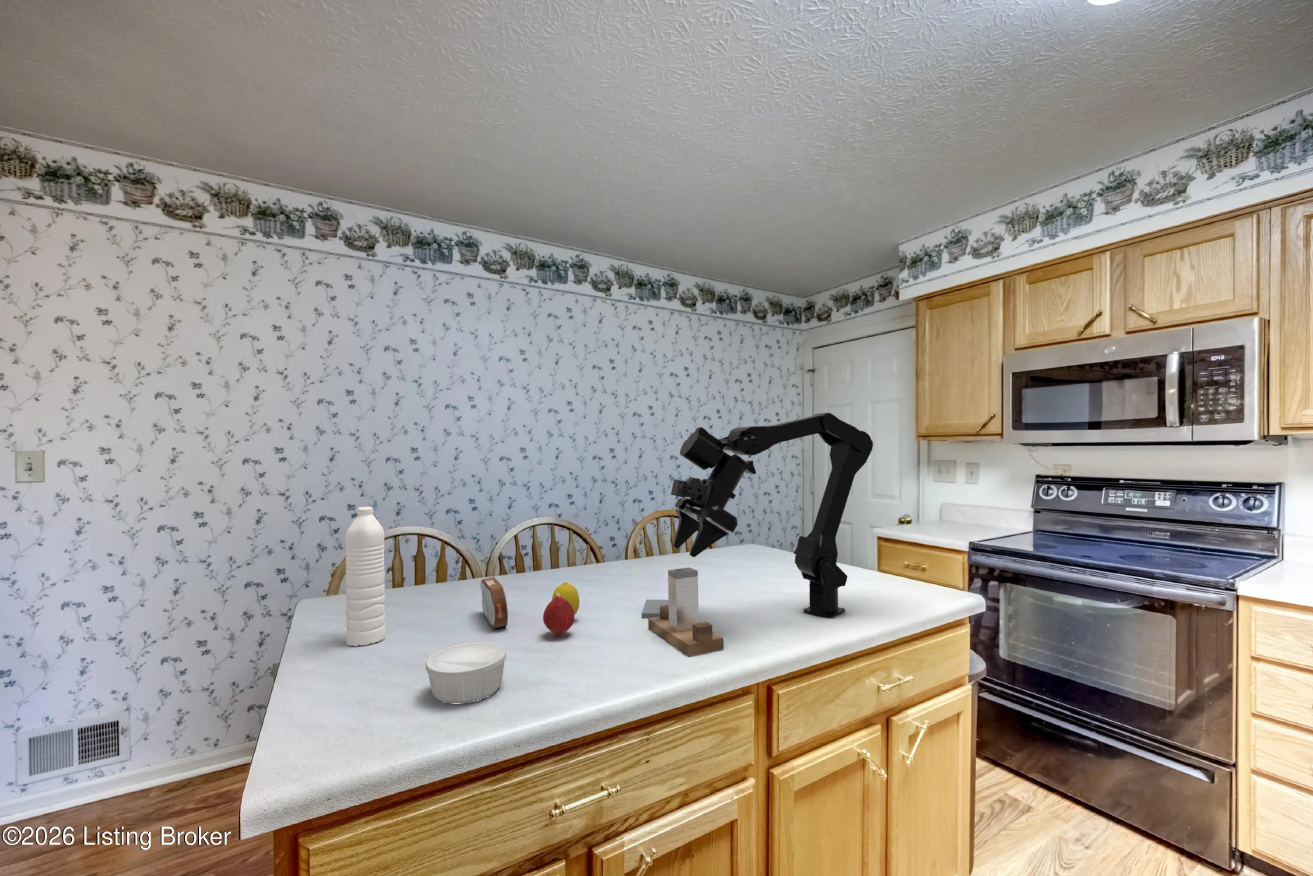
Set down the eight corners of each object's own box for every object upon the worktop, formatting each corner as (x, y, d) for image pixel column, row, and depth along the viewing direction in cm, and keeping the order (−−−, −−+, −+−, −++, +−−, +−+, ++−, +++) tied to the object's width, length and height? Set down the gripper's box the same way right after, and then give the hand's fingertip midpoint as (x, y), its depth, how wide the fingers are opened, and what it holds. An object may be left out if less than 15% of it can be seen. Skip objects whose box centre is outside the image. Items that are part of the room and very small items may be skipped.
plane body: (647, 628, 108) (647, 605, 108) (679, 622, 111) (679, 600, 111) (688, 656, 93) (688, 629, 94) (723, 649, 97) (723, 623, 97)
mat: (690, 604, 124) (690, 599, 124) (690, 618, 114) (690, 613, 114) (646, 604, 125) (646, 599, 125) (641, 618, 115) (641, 613, 115)
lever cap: (690, 623, 105) (689, 567, 105) (698, 628, 102) (697, 570, 102) (668, 627, 103) (668, 570, 103) (677, 632, 100) (676, 573, 100)
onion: (580, 632, 106) (579, 590, 107) (565, 642, 101) (565, 598, 101) (553, 629, 108) (552, 588, 108) (537, 639, 103) (537, 596, 103)
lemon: (582, 617, 116) (581, 578, 116) (575, 626, 110) (575, 585, 110) (556, 617, 116) (555, 578, 116) (548, 625, 111) (548, 585, 111)
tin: (509, 631, 108) (508, 588, 108) (492, 634, 106) (492, 590, 106) (494, 611, 121) (493, 572, 121) (479, 613, 120) (478, 574, 120)
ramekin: (426, 716, 75) (426, 676, 75) (425, 683, 85) (425, 648, 85) (512, 699, 79) (511, 662, 79) (500, 670, 89) (500, 637, 89)
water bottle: (346, 638, 105) (345, 506, 105) (384, 632, 108) (383, 503, 108) (345, 653, 97) (344, 510, 98) (387, 646, 100) (385, 508, 101)
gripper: (674, 460, 117) (636, 524, 115) (708, 462, 99) (664, 539, 97) (715, 487, 120) (679, 550, 117) (756, 494, 102) (714, 569, 99)
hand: (683, 551), depth 108 cm, fingers open, 9 cm apart
